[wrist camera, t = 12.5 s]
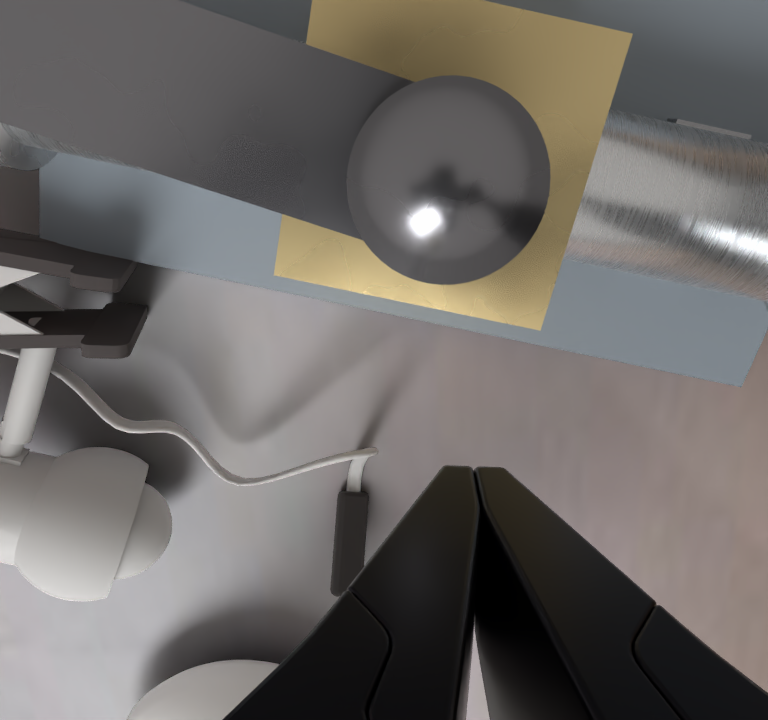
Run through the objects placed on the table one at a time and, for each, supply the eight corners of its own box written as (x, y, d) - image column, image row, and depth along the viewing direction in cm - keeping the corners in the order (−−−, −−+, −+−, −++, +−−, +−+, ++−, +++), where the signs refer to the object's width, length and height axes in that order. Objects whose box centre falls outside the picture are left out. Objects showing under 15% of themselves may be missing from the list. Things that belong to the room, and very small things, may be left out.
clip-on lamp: (427, 343, 25) (-100, 160, 19) (482, 415, 19) (-247, 184, 14) (319, 582, 28) (-161, 485, 22) (338, 707, 22) (-303, 618, 17)
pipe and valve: (863, 118, 17) (1119, 126, 11) (768, 328, 19) (935, 434, 13) (38, -64, 16) (-193, -167, 10) (39, 174, 19) (-151, 209, 12)
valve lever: (557, 107, 11) (589, 108, 9) (489, 281, 12) (503, 317, 10) (-365, -214, 10) (-569, -298, 8) (-342, 10, 11) (-513, -11, 9)
